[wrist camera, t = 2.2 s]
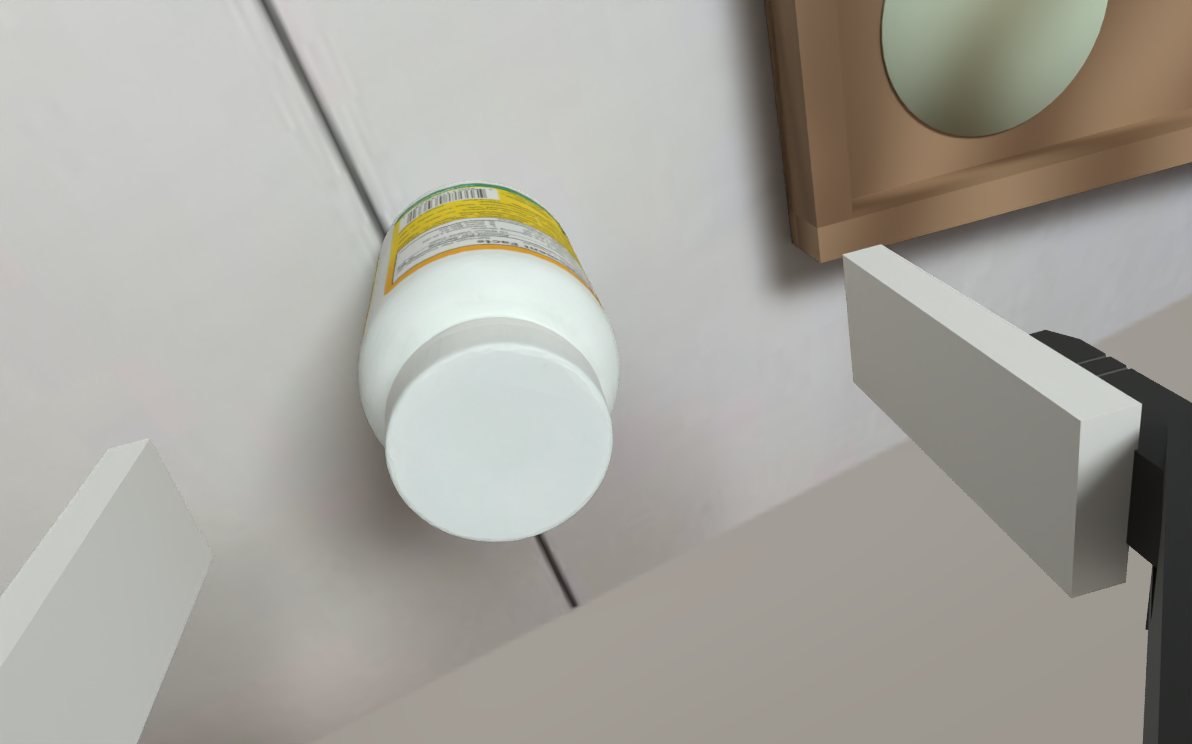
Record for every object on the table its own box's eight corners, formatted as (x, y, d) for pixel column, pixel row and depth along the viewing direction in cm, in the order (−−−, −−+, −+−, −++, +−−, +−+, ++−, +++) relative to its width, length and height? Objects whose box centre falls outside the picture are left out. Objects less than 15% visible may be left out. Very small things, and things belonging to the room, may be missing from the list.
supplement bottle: (438, 138, 21) (442, 241, 13) (609, 241, 23) (712, 390, 15) (341, 310, 23) (287, 507, 14) (510, 393, 25) (552, 611, 16)
